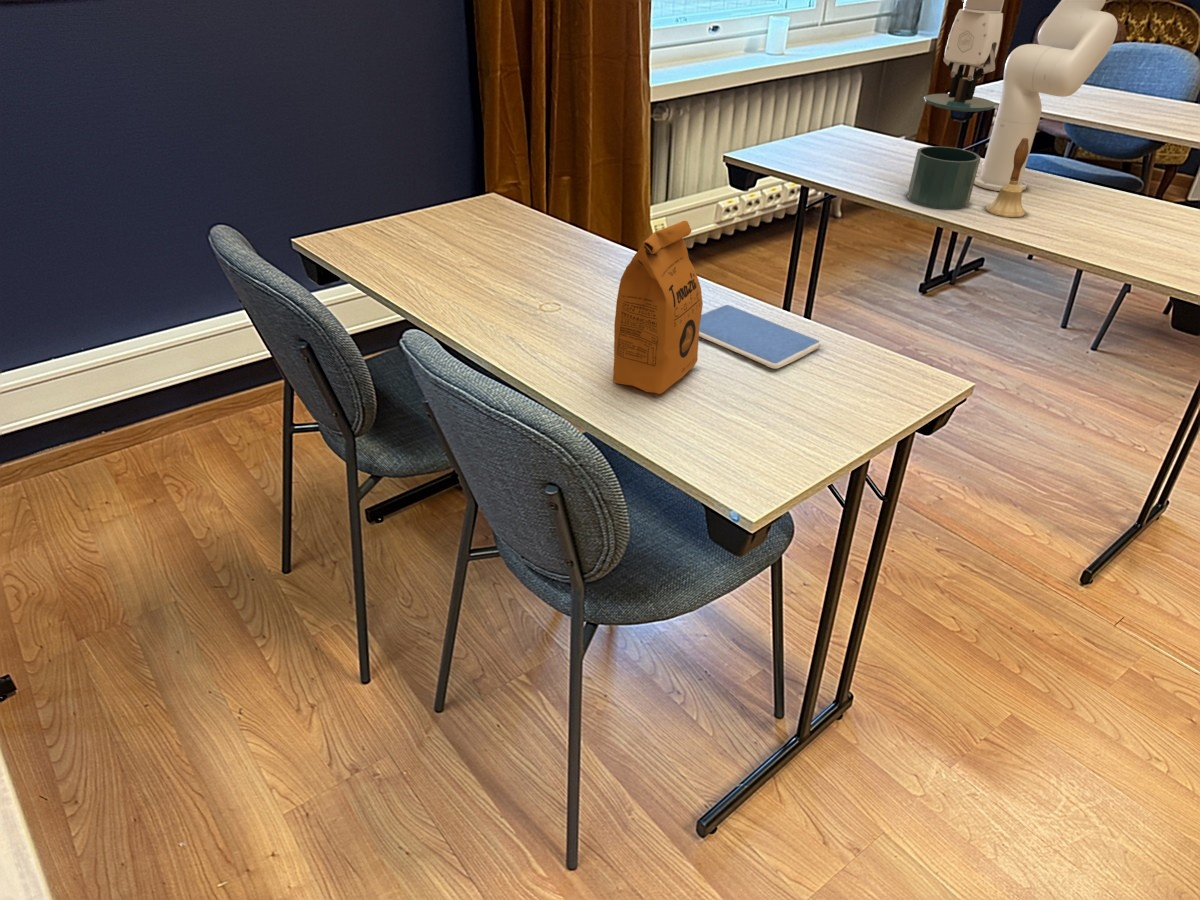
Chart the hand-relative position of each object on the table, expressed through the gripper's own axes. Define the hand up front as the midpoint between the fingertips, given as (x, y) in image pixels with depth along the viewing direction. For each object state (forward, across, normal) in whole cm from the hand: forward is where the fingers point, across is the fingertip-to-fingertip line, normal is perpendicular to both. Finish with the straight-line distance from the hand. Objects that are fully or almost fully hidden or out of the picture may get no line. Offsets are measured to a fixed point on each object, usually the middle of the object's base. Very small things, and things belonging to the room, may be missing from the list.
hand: (960, 97), depth 187 cm
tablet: (+23, +37, -85) cm, 96 cm away
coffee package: (+23, +41, -105) cm, 115 cm away
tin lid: (+1, 0, 0) cm, 1 cm away
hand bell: (+23, +12, +9) cm, 28 cm away
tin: (+23, 0, +1) cm, 23 cm away
